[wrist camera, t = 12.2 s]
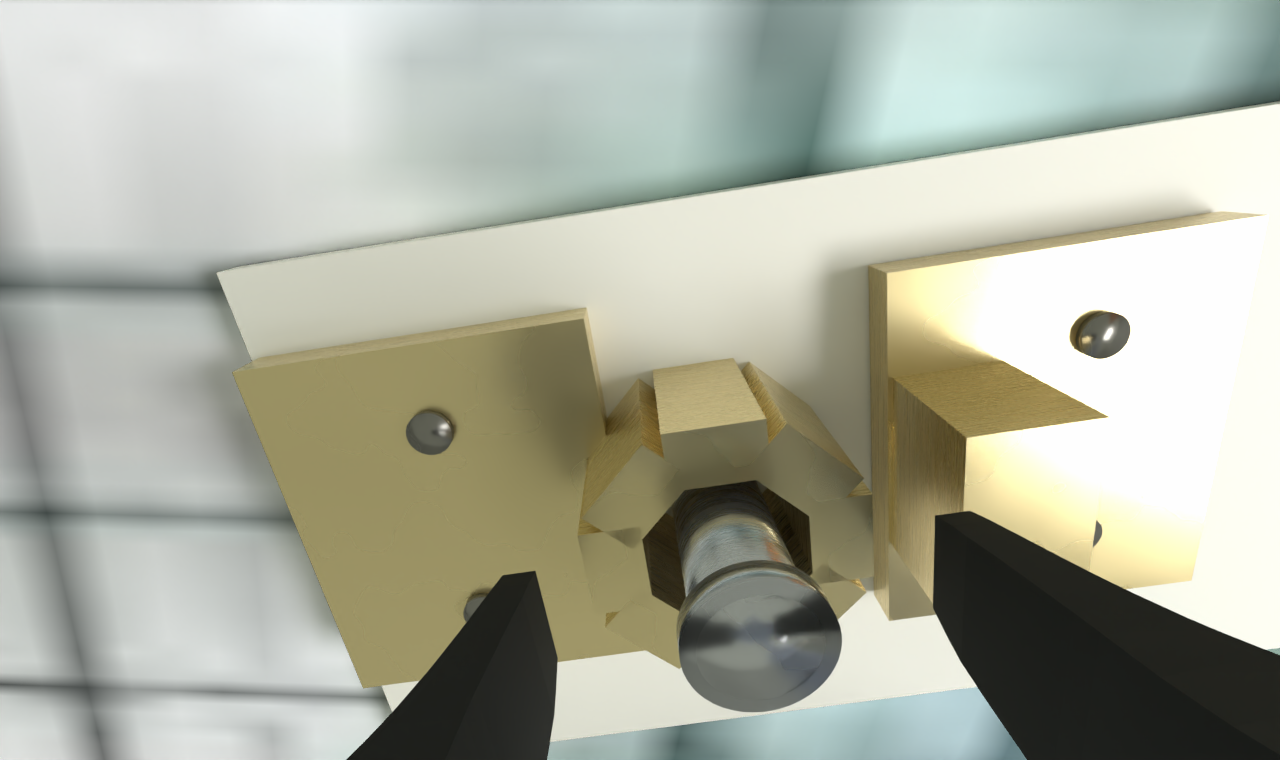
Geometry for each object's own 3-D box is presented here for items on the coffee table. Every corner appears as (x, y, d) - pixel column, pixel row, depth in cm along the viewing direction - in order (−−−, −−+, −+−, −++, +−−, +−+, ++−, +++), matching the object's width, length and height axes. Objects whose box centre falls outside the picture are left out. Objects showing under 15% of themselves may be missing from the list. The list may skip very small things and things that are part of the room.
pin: (756, 508, 15) (838, 705, 9) (659, 516, 15) (683, 719, 9) (755, 417, 14) (844, 573, 9) (652, 427, 14) (674, 588, 9)
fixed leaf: (825, 598, 16) (875, 708, 13) (378, 658, 17) (316, 780, 13) (809, 273, 13) (869, 310, 10) (259, 357, 14) (141, 420, 10)
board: (1326, 617, 18) (1356, 637, 17) (419, 736, 19) (411, 759, 18) (1501, 65, 13) (1555, 59, 12) (239, 266, 14) (216, 272, 13)
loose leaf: (1158, 555, 16) (1323, 677, 12) (873, 593, 16) (948, 725, 12) (1221, 211, 13) (1469, 231, 9) (868, 265, 13) (965, 307, 9)
